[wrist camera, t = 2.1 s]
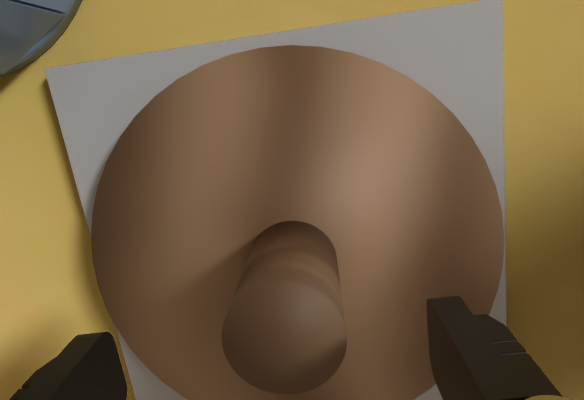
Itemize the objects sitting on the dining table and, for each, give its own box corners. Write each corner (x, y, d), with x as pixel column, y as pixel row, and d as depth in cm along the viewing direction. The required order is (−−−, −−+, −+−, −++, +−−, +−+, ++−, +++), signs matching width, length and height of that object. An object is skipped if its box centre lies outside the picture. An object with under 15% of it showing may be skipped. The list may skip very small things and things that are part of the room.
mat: (492, 1, 15) (502, -3, 14) (499, 391, 19) (507, 404, 18) (57, 69, 16) (44, 68, 16) (151, 419, 21) (144, 432, 20)
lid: (485, 15, 15) (605, -29, 9) (495, 394, 18) (582, 546, 12) (60, 81, 16) (-94, 82, 10) (153, 423, 20) (82, 573, 14)
